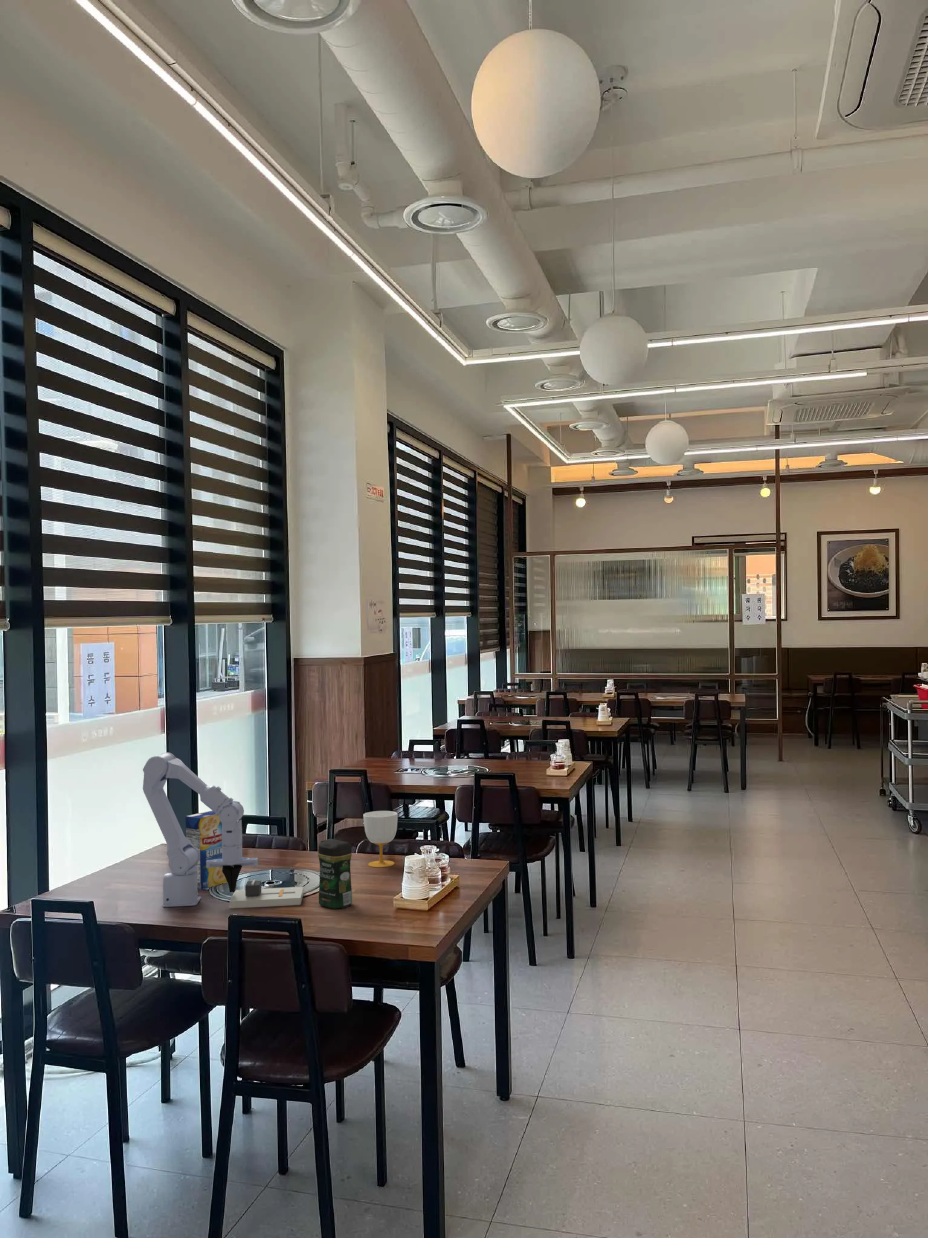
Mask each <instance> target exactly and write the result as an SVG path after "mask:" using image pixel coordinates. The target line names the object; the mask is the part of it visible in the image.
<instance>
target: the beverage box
mask: <svg viewBox="0 0 928 1238" xmlns="http://www.w3.org/2000/svg"><path fill="white" fill-rule="evenodd" d="M184 819H185V837H186V838H188V839H189V840H190V841H191V843H192V845H193V846H194V847H195V848H196V849H197V850H198V851H199V854H200V859H199V861H198V863H197V864H196V868H197V891H202V890H205V889H208V888H212V887H215V886H219V885H223V884H225V883H224V882H226V883H227V880H226V878H225V876H224V874H223V872H222V868H223V867H210V868H206V861H207V860H214V859H222V822H221V821H220V819H219V815H218V814H216V813H215V812H213V811H212V810H209V811H204V812H199V813H195V814H190V815H185V818H184ZM222 883H223V884H222Z"/></svg>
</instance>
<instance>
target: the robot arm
mask: <svg viewBox="0 0 928 1238" xmlns="http://www.w3.org/2000/svg"><path fill="white" fill-rule="evenodd" d="M142 771H143V782H142V791H143V793H144V795H145V797H146V800H147V803H148V806H149V807H150V810H151V811H152V814H153V816H154V818H155V821H156V823H157V824H158V827H159V830H160V831H161V834H162V835H163V836H162V837H163V839H164V841H165V843H166V846H167V847H166V856H167V858H168V868H169V869H170V871H171V872H166V873H164V874H163V875H164V876H163V880H162V903H163V904H162V907H163V908H169V907H171V908H172V907H189V906H190V907H191V906H192V907H193V906H197V905H198V903H199V902H200V900H201V899H202V896H201V895H199V894H198V889H197V868H196V864H197V863H198V861H199V859H200V854H199V851H198V850H197V849H196V848H195V847H194V846H193V845H192V843H191V841H190V840H189V839H188V838H186V835H185V834H184V832H183V829H182V827H181V824H180V822H179V821H178V818H177V816H176V814H175V811H174V810H173V807H172V805H171V803H170V800H169V798H168V795H167V794H166V792H165V789H164V786H165V785H166V783H167V780H168V779H177V780H179V781H181V782H182V783H183V784H185V785H186V786H187V787H189V788H190V789H192V790H193V791H194V792H196V793H197V794H198V795H199V798H200V800H199V801H200V802H201V803H203V804H204V805H205V806H206V807H207V808H209V809H210V811H213V812H215V813H216V814H218V815H219V819H220V821H221V822H222V859H214V860H207V861H206V868H210V867H223V868H222V872H223V874H224V876H225V878H226V880H227V882H226V883H227V886H228V889H229V893H234V892H235V890H237V889H236V888H237V882H238V879H239V875H240V874H241V870H242V868H243V867H249V866H253V867H258V864H259V863H258V862H259V858H258V857H243V826H242V825H243V823H242V821H243V820H242V817H244V814H245V813H244V812H245V809H244V806H243V805H242V804H241V802H240V801H236V800H234V799H233V798H232V797H229V796H227V795H226V794H225V793H224V792H223V791H221V790H222V788H221V787H220V786H216V785H208V784H206V782H204V781H203V780H202V779H201V778H200V777H199V776H198V775H197V774H196V773H194V772H193V771H192V770H191V769H190V768H189V767H188V765H185V763H184V762H183V761H182V760H181V759H180V758H178V757H176V756H175V755H174V754H173V753H171V752H163V753H161V754H158V755H154V756H152V757H150V758H148V759H147V761H146V763H145V765H144V767H143V768H142ZM198 895H199V896H198Z"/></svg>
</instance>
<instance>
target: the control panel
mask: <svg viewBox="0 0 928 1238" xmlns="http://www.w3.org/2000/svg"><path fill="white" fill-rule="evenodd" d="M303 896H304V886H294V887H293V886H291V887H272V888H271V887H269V888H261V893H260V895H259V896H245V889H235V892H233V893H232V896H231V898H230V900H229V909H243V908H245V909H246V908H261V907H262V908H264V907H266V908H267V907H281V906H282V907H283V906H284V907H285V906H300V905H301V904H302V901H303Z"/></svg>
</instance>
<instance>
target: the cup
mask: <svg viewBox="0 0 928 1238" xmlns="http://www.w3.org/2000/svg"><path fill="white" fill-rule="evenodd" d="M398 815H399V814H398V812H396V811H391V810H375V811H369V812H365V813H363V816H362V818H363V826H364V832H365V835H366V838H367V839H368V841H369V842H370V843H372V844H374V845H376V846H378V848H379V858H378V859H379V860H374V861H369V863H367V865H368V867H370V868H377V869H378V868H379V869H380V868H388V867H389V868H390V867H392V866H395V862H394V861H392V860H384V858H383V856H384V854H383V851H384V850H383V849H384V848H383V847H384V845H387V844H389V843H390V842H392V841H393V840H394V838H395V836H396V833H397V831H398V819H399V818H398V817H399V816H398Z"/></svg>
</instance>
